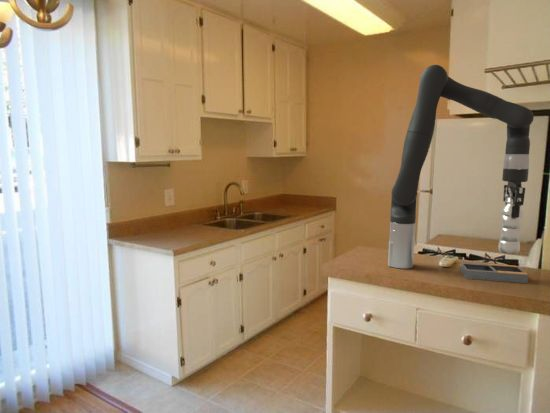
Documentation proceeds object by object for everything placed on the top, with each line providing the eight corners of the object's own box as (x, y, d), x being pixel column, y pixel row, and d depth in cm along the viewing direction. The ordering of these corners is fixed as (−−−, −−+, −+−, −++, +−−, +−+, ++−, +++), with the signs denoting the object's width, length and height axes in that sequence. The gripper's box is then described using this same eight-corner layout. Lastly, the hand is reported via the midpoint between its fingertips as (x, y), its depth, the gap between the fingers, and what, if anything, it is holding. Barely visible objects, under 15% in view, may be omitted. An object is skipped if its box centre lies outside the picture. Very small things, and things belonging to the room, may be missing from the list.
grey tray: (466, 278, 138) (467, 269, 138) (460, 270, 148) (460, 262, 148) (527, 283, 134) (528, 273, 133) (516, 274, 144) (517, 265, 143)
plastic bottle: (522, 256, 135) (528, 198, 133) (501, 255, 137) (506, 198, 134) (515, 252, 141) (520, 197, 139) (494, 251, 143) (499, 196, 140)
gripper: (497, 167, 143) (493, 212, 145) (510, 168, 129) (506, 218, 131) (520, 167, 141) (516, 213, 143) (536, 168, 127) (531, 219, 129)
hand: (511, 215), depth 137 cm, fingers closed on plastic bottle, 6 cm apart
